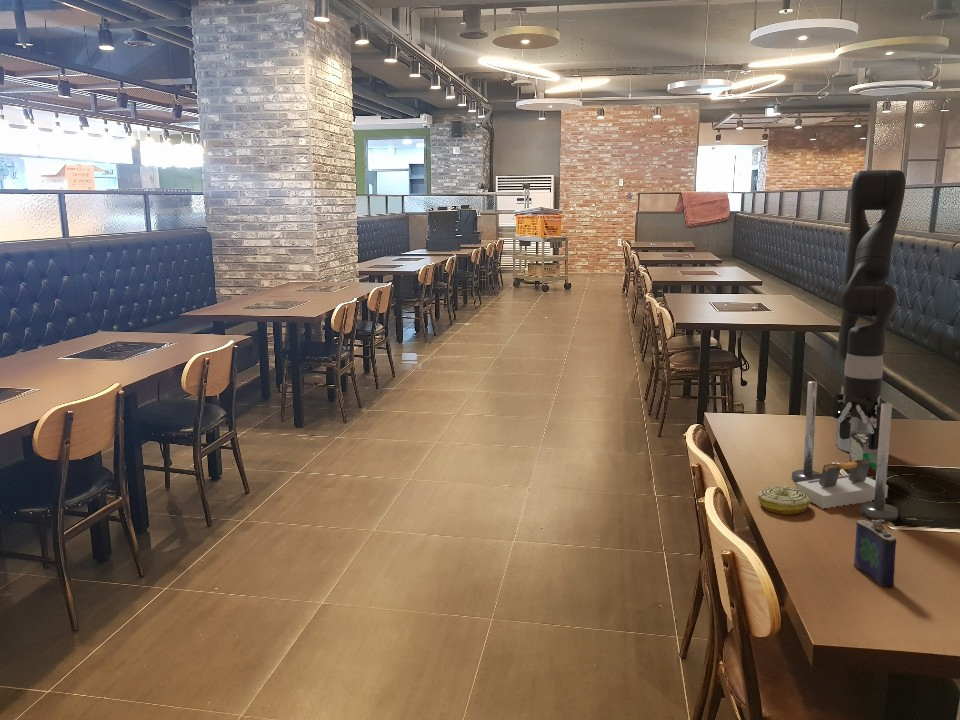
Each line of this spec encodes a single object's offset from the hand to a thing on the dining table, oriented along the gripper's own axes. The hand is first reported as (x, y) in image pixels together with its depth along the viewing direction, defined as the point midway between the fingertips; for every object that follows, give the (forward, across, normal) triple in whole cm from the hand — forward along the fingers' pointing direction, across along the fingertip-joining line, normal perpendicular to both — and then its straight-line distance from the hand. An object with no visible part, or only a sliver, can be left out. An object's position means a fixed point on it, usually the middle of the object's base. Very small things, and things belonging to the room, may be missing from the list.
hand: (858, 443), depth 166 cm
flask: (+12, -32, +25) cm, 42 cm away
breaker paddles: (+9, 0, +4) cm, 10 cm away
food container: (+12, +8, -11) cm, 18 cm away
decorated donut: (+13, 0, +20) cm, 23 cm away
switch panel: (+12, 0, +4) cm, 13 cm away
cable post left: (+12, +11, +4) cm, 17 cm away
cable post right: (+12, -11, +4) cm, 17 cm away
